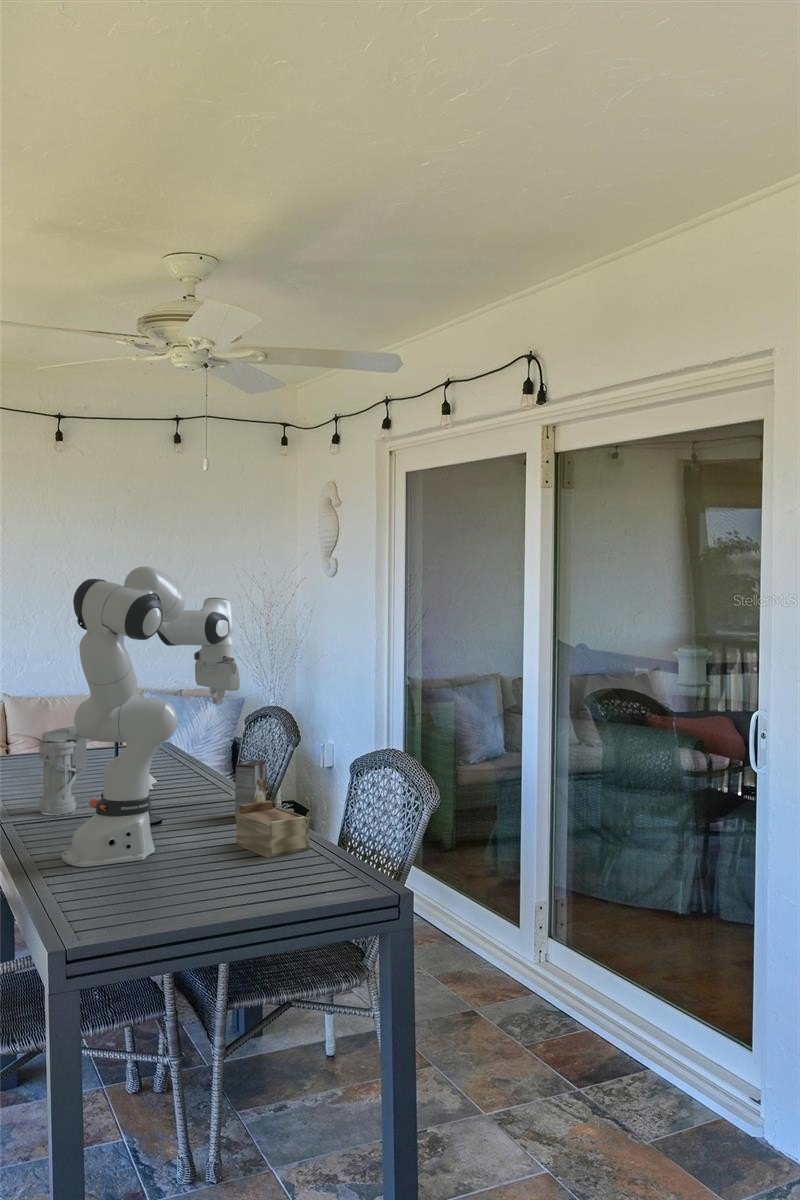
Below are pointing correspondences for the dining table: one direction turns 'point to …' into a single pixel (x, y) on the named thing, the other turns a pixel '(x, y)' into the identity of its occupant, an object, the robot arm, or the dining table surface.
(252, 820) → the crate
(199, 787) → the dining table surface
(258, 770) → the coffee box
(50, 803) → the lantern
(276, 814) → the lid
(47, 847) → the dining table surface
